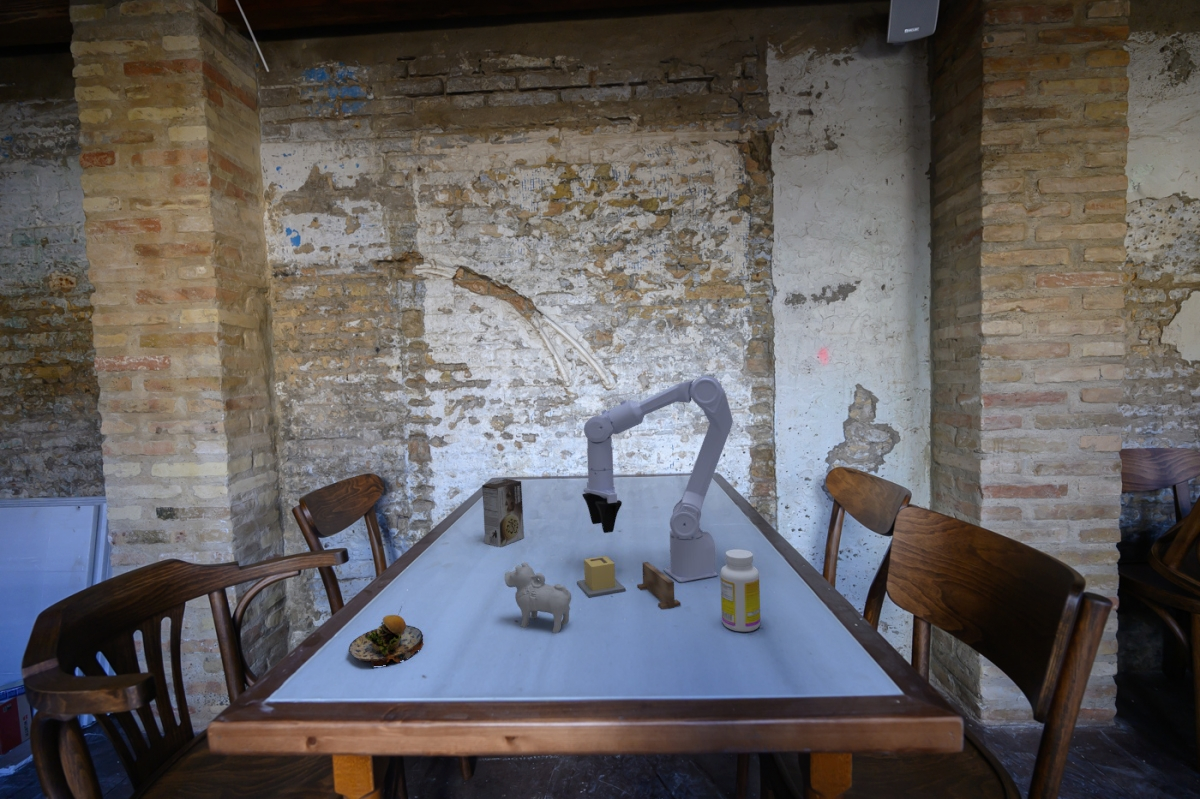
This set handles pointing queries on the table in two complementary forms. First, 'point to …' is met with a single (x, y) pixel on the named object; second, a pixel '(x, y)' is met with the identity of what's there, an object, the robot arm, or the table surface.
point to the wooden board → (658, 586)
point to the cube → (599, 573)
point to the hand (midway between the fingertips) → (602, 527)
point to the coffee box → (503, 512)
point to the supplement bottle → (740, 592)
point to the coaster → (606, 591)
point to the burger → (387, 642)
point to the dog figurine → (538, 596)
